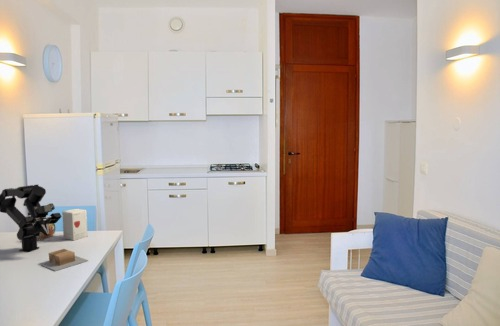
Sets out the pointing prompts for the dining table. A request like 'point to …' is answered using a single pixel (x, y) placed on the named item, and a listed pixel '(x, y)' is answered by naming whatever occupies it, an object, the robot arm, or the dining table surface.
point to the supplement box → (74, 224)
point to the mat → (57, 267)
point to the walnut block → (61, 257)
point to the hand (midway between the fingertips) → (47, 235)
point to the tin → (51, 232)
